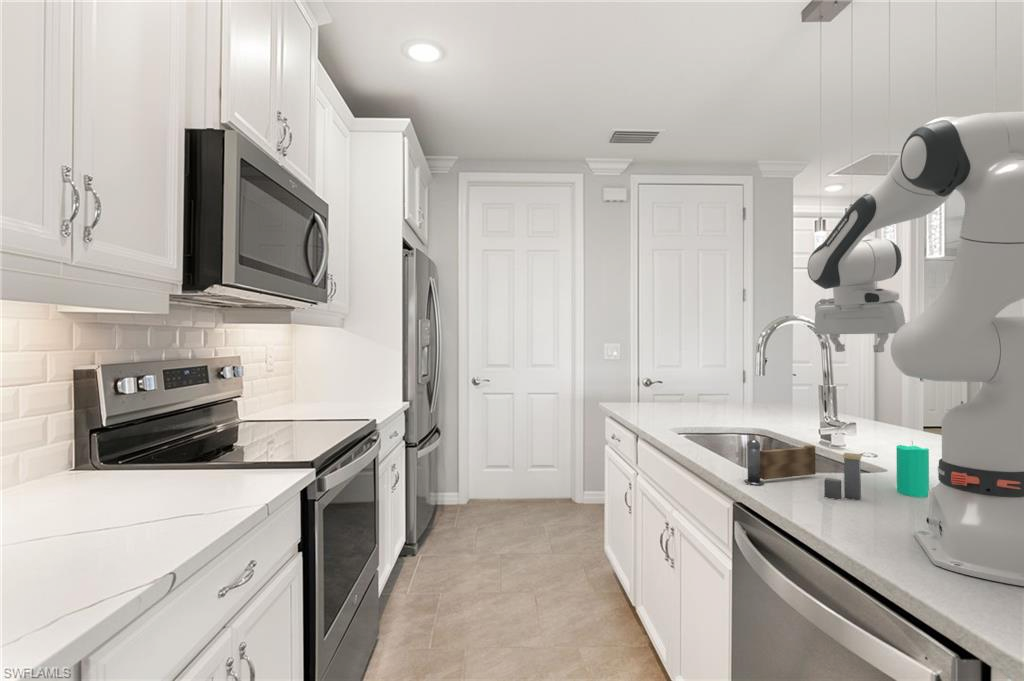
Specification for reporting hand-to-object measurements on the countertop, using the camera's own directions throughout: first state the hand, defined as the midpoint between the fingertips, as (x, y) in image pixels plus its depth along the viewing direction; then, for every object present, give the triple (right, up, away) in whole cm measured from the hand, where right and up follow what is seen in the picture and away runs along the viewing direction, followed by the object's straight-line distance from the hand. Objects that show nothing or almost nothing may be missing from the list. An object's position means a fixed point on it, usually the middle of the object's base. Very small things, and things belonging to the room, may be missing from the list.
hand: (859, 351), depth 132 cm
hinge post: (-27, -32, -2) cm, 42 cm away
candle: (+5, -32, -11) cm, 35 cm away
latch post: (-13, -32, -14) cm, 37 cm away
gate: (-17, -31, +1) cm, 36 cm away
